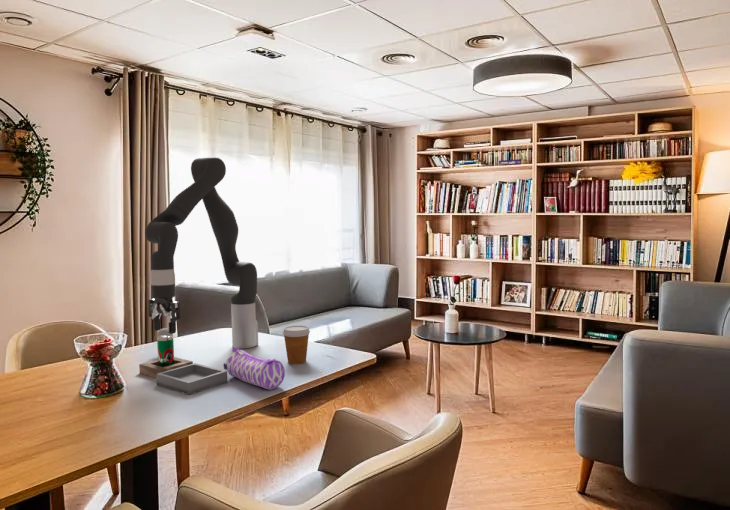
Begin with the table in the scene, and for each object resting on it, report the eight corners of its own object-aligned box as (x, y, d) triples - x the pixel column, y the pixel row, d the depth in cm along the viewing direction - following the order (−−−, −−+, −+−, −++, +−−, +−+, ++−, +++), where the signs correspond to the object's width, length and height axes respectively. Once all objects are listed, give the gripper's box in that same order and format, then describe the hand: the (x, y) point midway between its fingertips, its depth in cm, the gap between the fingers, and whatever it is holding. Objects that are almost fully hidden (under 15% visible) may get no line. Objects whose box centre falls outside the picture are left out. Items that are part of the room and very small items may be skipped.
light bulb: (176, 353, 201) (175, 327, 201) (165, 357, 196) (164, 330, 196) (165, 352, 204) (164, 326, 203) (154, 355, 199) (153, 328, 198)
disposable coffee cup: (278, 364, 185) (277, 329, 184) (292, 357, 194) (291, 324, 193) (302, 366, 182) (301, 331, 181) (315, 359, 190) (314, 326, 190)
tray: (195, 373, 175) (195, 363, 175) (227, 382, 166) (227, 371, 165) (156, 385, 164) (156, 373, 164) (189, 394, 154) (188, 382, 154)
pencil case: (223, 378, 170) (222, 349, 169) (248, 372, 176) (247, 344, 176) (263, 394, 154) (262, 362, 154) (289, 386, 161) (288, 356, 160)
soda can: (177, 369, 180) (175, 334, 179) (170, 374, 175) (168, 338, 174) (162, 369, 181) (161, 334, 180) (155, 373, 175) (154, 337, 175)
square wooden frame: (171, 364, 186) (171, 356, 186) (193, 370, 179) (192, 361, 179) (139, 373, 176) (139, 364, 176) (161, 379, 169) (160, 370, 169)
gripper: (186, 283, 174) (187, 332, 175) (160, 280, 183) (162, 327, 184) (165, 285, 168) (167, 336, 169) (140, 282, 177) (141, 331, 178)
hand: (164, 331), depth 177 cm, fingers open, 8 cm apart
